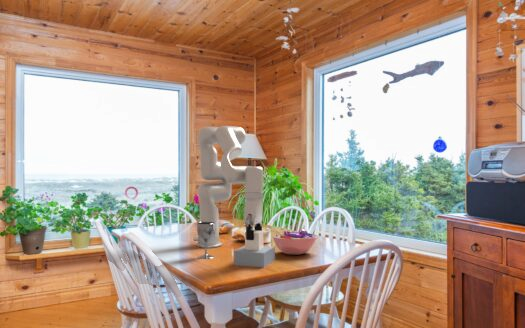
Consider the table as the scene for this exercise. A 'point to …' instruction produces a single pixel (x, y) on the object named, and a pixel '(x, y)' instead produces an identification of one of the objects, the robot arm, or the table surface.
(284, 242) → the cell model
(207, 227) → the wine glass
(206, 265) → the table surface
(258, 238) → the cream matte cube
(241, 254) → the base box
